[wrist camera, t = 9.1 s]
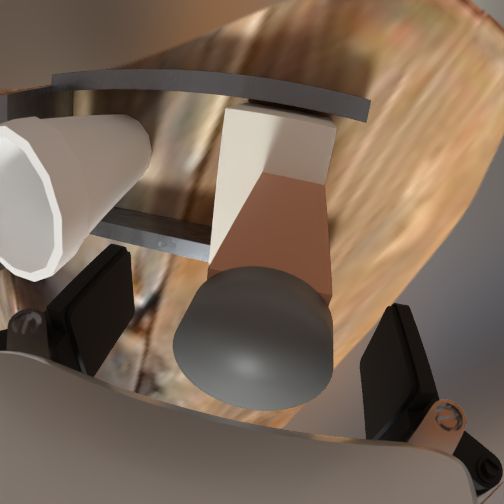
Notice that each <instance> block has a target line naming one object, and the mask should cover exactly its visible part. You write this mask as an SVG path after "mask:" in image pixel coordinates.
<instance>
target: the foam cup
mask: <svg viewBox="0 0 504 504" xmlns="http://www.w3.org/2000/svg"><path fill="white" fill-rule="evenodd" d="M151 153H152V150H151V145H150V140H149V135H148V134H147V132H146V131H145V129H144V128H143V126H142V125H141V124H140V122H139V121H137V120H135V119H133V118H132V117H130V116H128V115H122V114H118V115H89V116H72V117H59V118H48V119H39V118H37V117H36V116H35V117H27V118H20V119H13V120H10V121H7V122H4V123H1V124H0V263H2V264H3V265H4V266H5V267H6V268H7V269H8V270H9V271H11V272H12V273H13V274H14V275H16V276H19V277H22V278H25V279H28V280H30V281H33V282H36V281H39V280H42V279H44V278H47V277H50V276H53V275H54V274H55V273H56V272H57V271H58V270H59V269H60V268H61V267H62V266H63V265H65V264H66V263H67V262H68V261H69V260H70V259H71V258H72V257H73V256H75V254H76V253H77V251H78V249H79V247H80V246H81V244H82V242H83V240H84V239H85V238H86V237H87V236H88V234H89V233H90V232H91V231H92V230H93V229H94V228H95V226H96V225H97V224H98V223H99V222H100V221H101V220H102V219H103V217H104V216H105V215H106V214H107V213H108V212H109V211H110V210H111V209H112V208H113V207H114V206H115V204H116V203H117V202H118V201H119V200H120V199H121V198H122V197H123V196H124V195H125V194H126V193H127V192H128V191H129V190H130V189H131V188H132V187H133V186H134V185H135V184H136V183H137V181H138V180H139V179H140V178H141V177H142V175H143V174H144V173H145V171H146V170H147V169H148V167H149V163H150V158H151Z"/></svg>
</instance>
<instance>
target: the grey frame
mask: <svg viewBox="0 0 504 504" xmlns="http://www.w3.org/2000/svg"><path fill="white" fill-rule="evenodd" d="M93 89H145V90H168V91H184V92H196V93H207V94H217V95H226V96H234V97H242V98H249V99H256V100H262V101H268V102H274V103H280V104H286V105H291V106H296V107H301V108H306V109H311V110H316V111H321V112H325V113H329V114H334V115H338V116H342V117H346V118H350V119H354V120H358V121H362V122H365V123H366V122H367V117H368V113H369V108H370V103H371V100H368V99H364V98H361V97H357V96H353V95H349V94H345V93H341V92H337V91H333V90H328V89H324V88H319V87H314V86H309V85H304V84H299V83H294V82H288V81H282V80H276V79H270V78H263V77H256V76H248V75H240V74H231V73H221V72H209V71H195V70H175V69H115V70H96V71H82V72H72V73H62V74H54V75H52V85H46V86H39V87H34V88H28V89H23V90H18V91H13V92H8V93H4V94H0V124H1V123H4V122H7V121H10V120H13V119H20V118H27V117H35V116H36V117H37V118H39V119H48V118H59V117H72V112H73V90H93ZM211 233H212V227H211V226H206V225H201V224H196V223H191V222H186V221H182V220H177V219H172V218H167V217H162V216H157V215H152V214H147V213H142V212H137V211H132V210H126V209H121V208H116V207H113V208H112V209H111V210H110V211H109V212H108V213H107V214H106V215H105V216H104V217H103V219H102V220H101V221H100V222H99V223H98V224H97V225H96V226H95V228H94V229H93V230H92V231H91V232H90V233H89V234H92V235H96V236H100V237H104V238H108V239H112V240H117V241H121V242H125V243H129V244H133V245H137V246H142V247H146V248H150V249H154V250H158V251H163V252H167V253H171V254H176V255H180V256H184V257H188V258H193V259H197V260H201V261H206V262H209V256H210V244H211Z"/></svg>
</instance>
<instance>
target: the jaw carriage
mask: <svg viewBox="0 0 504 504" xmlns="http://www.w3.org/2000/svg"><path fill="white" fill-rule="evenodd" d="M336 132H337V128H336V126H335V124H334V123H333V121H332V119H331V118H328V117H323V116H319V115H314V114H309V113H304V112H300V111H294V110H289V109H284V108H278V107H272V106H266V105H260V104H254V103H243V104H239V105H236V106H232V107H228V108H225V116H224V124H223V132H222V140H221V148H220V157H219V166H218V174H217V184H216V193H215V203H214V213H213V223H212V233H211V244H210V256H209V267H208V276H207V281H206V282H205V283H203V284H202V285H201V287H200V288H199V289H198V291H197V292H196V294H195V296H194V298H193V300H192V302H191V303H190V305H189V307H188V309H187V311H186V313H185V315H184V317H183V319H182V320H181V322H180V324H179V326H178V328H177V330H176V332H175V335H174V339H173V352H174V356H175V359H176V362H177V364H178V366H179V368H180V369H181V371H182V372H183V373H184V375H185V376H186V377H187V378H188V379H189V380H190V381H191V382H192V383H193V384H194V385H195V386H196V387H198V388H199V389H200V390H202V391H203V392H205V393H206V394H208V395H210V396H211V397H213V398H215V399H217V400H220V401H222V402H224V403H227V404H230V405H233V406H237V407H240V408H245V409H251V410H261V411H273V410H283V409H288V408H293V407H296V406H299V405H302V404H304V403H306V402H309V401H310V400H312V399H313V398H315V397H316V396H318V395H319V394H320V393H321V392H322V391H323V390H324V389H325V388H326V386H327V385H328V383H329V382H330V379H331V377H332V373H333V321H332V316H331V313H330V310H329V308H328V306H329V303H330V300H331V298H332V277H331V259H330V244H329V230H328V218H327V206H326V195H325V181H326V177H327V172H328V168H329V164H330V159H331V155H332V150H333V146H334V141H335V136H336Z"/></svg>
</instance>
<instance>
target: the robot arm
mask: <svg viewBox="0 0 504 504" xmlns="http://www.w3.org/2000/svg"><path fill="white" fill-rule="evenodd" d="M134 311H135V307H134V296H133V283H132V269H131V255H130V252H128V251H127V249H126V247H124V246H119V245H115V244H110V245H109V246H108V247H107V248H106V249H104V250H103V251H102V252H101V253H100V254H99V255H98V256H97V257H96V258H95V259H94V260H93V261H92V262H91V263H90V264H89V265H88V266H87V267H86V268H85V269H84V270H82V271H81V272H80V273H79V274H78V275H77V276H76V277H75V278H74V279H73V280H72V281H71V282H70V283H69V284H68V285H67V286H66V287H65V288H64V289H63V290H62V291H61V292H60V294H59V295H58V296H57V297H56V298H55V299H54V300H53V301H52V302H51V303H50V304H49V305H48V306H47V310H46V311H45V312H44V313H42V312H41V311H39V310H37V309H24V310H21V311H19V312H17V313H16V314H14V315H13V316H12V317H11V319H10V320H9V323H8V329H6V330H1V331H0V504H504V481H503V482H502V480H501V478H502V471H503V469H502V465H501V463H500V461H499V459H498V458H497V457H496V456H495V455H494V454H493V453H492V452H490V451H489V450H488V449H487V448H485V447H484V446H483V445H482V444H480V443H479V442H478V441H477V440H476V439H474V438H473V437H472V436H470V435H469V434H468V433H467V432H466V431H465V428H466V424H467V421H466V416H465V413H464V411H463V410H462V408H461V407H460V406H458V405H457V404H456V403H454V402H453V401H450V400H446V399H444V400H439V397H438V393H437V389H436V386H435V382H434V379H433V375H432V372H431V369H430V365H429V363H428V359H427V356H426V353H425V350H424V347H423V344H422V341H421V338H420V335H419V332H418V329H417V326H416V323H415V321H414V318H413V315H412V312H411V310H410V307H409V306H408V305H402V304H397V303H394V304H392V306H388V307H387V308H386V310H385V312H384V314H383V316H382V318H381V320H380V322H379V325H378V326H377V328H376V331H375V332H374V334H373V336H372V338H371V340H370V343H369V344H368V346H367V348H366V350H365V352H364V354H363V356H362V358H361V361H360V373H361V382H362V393H363V404H364V417H365V430H366V439H357V438H346V437H336V436H327V435H318V434H310V433H303V432H296V431H289V430H283V429H277V428H271V427H266V426H260V425H255V424H250V423H245V422H240V421H236V420H231V419H227V418H222V417H218V416H214V415H210V414H206V413H202V412H198V411H194V410H190V409H187V408H183V407H180V406H176V405H173V404H169V403H166V402H163V401H159V400H156V399H153V398H150V397H147V396H144V395H141V394H138V393H135V392H132V391H129V390H126V389H123V388H120V387H118V386H115V385H112V384H110V383H107V382H104V381H102V380H99V379H96V378H94V376H95V374H96V373H97V371H98V370H99V368H100V367H101V365H102V363H103V362H104V360H105V359H106V357H107V356H108V354H109V352H110V351H111V349H112V348H113V346H114V345H115V343H116V342H117V340H118V339H119V337H120V336H121V334H122V333H123V331H124V330H125V328H126V327H127V325H128V324H129V322H130V321H131V319H132V318H133V315H134Z"/></svg>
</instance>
